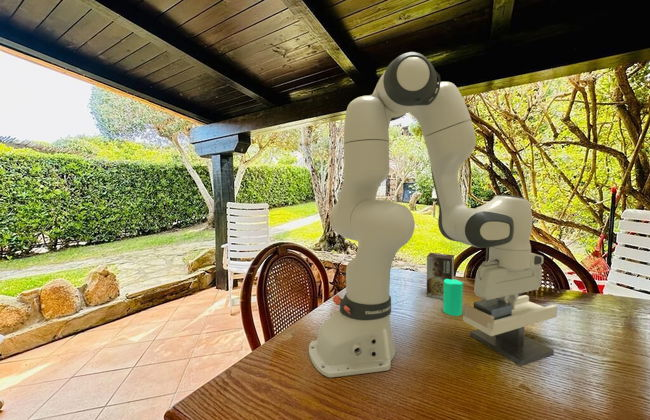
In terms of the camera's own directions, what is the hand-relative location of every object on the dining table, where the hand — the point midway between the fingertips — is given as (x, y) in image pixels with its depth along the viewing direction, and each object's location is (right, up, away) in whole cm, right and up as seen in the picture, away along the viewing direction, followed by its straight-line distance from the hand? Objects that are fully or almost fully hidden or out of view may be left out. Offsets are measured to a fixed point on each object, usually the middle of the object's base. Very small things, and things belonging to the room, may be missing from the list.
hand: (507, 309), depth 70 cm
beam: (+1, -3, +1) cm, 3 cm away
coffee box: (-3, -7, +34) cm, 35 cm away
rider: (-5, -2, -2) cm, 6 cm away
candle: (-5, -9, +20) cm, 22 cm away
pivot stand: (+1, -10, +1) cm, 10 cm away
